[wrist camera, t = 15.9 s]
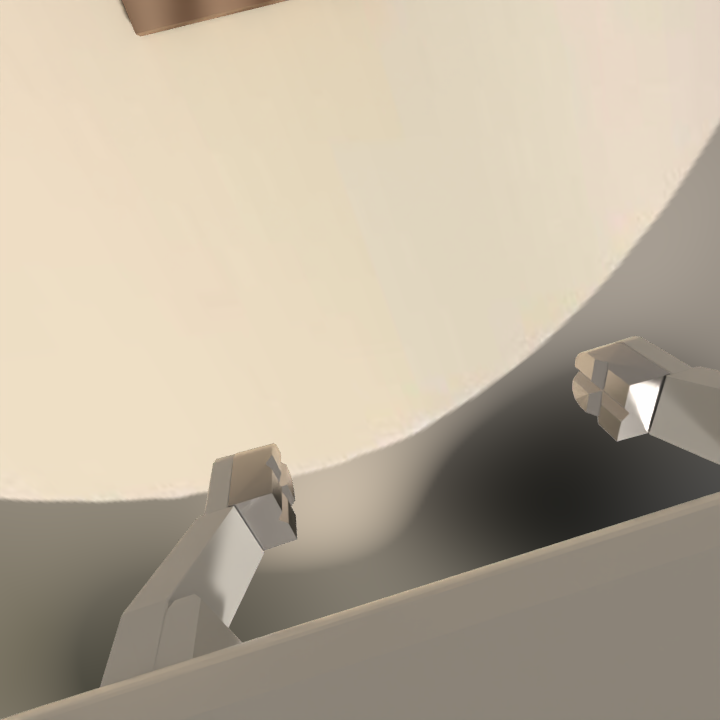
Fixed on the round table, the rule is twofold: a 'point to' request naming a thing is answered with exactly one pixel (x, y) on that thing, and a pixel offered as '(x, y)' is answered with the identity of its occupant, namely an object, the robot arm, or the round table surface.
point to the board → (182, 12)
